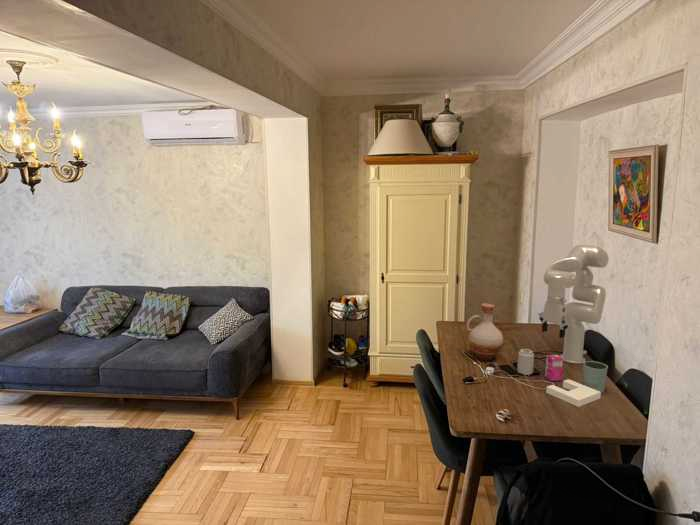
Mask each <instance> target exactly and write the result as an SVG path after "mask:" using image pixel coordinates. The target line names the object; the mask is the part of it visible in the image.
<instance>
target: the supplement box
mask: <svg viewBox="0 0 700 525" xmlns="http://www.w3.org/2000/svg"><path fill="white" fill-rule="evenodd" d="M545 359H546V360H545V374H544V375H545V376H544V377H545V378H546V379H547V380H549V381H550V382H551V383H552V382H563V370H564V369H563V368H564V361H563V359H562V358H561V357H560V355H558V354H551V355H549V354H547V355H546V358H545Z"/></svg>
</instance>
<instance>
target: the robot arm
mask: <svg viewBox="0 0 700 525" xmlns="http://www.w3.org/2000/svg"><path fill="white" fill-rule="evenodd" d="M608 264H609V255H608V253H607V252H606V251H605V250H604V249H603V248H602V247H600V246H597V245H585V244H576V245H575V246H573V248H572V249H571V250H570V251H569V253H568V255H567V256H566V258H563V259H560V260H558V261H555V262H552V263H551V264H550V265H549V266H548V268H547V269H546V270H545V272H544V275H543V281H544V283H545V284H546V285H547V295H546V296H547V299H546V301H545V302H544V303H545V304H544V308H543V311H542V312H538V317H539V320H540V323H541V333H546V332H548V329H549V328H548V325H549V324H548V323H551V324H553V325H557V326H559V328H560V329H559V333H558V334H559V335H558V337H559V338H560V339H561V338H564V340H563V349H562V350H563V351H562V353H561V354H560V355H559V356H560V357H561V358H562V359H563V362H565V363H569V364H577V365H578V364H579V365H580V364H583V363H584V362H586V357H584V355H586V354H587V353H588V351H587V350H585V349H584V345H585V344H584V343H585V333H586V330H585V326H584V324H583V323H588V324H593V325H597V324H599V323H600V322H601V319H602V317H603V315H602V314H603V309H604V307H605V306H604V305H605V302H606V294H607V293H606V289H605V288H604V287H603V286H602V285H595V284H593V280H594V274H593V272H592V270H591V269H590V268H589V267H592V268H599V269H602V268H603V269H604V268H605V267H607V265H608ZM569 288H572V292H571V296H572V299H573V300H576V301H579V302H575V301H574V302H573V301H572V302H568V303H567V300H566V299H565V296H566V289H569ZM582 302H583V303H582ZM584 302H585V303H584ZM566 303H567V304H566ZM587 303H590V304H587ZM591 303H592V304H591Z"/></svg>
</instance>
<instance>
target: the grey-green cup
mask: <svg viewBox="0 0 700 525" xmlns="http://www.w3.org/2000/svg"><path fill="white" fill-rule="evenodd" d="M582 364H583V365H582V366H583V385H585V386H587V387H590V388H592V389H595V390H597V391H600V392H601V394H603V393H604V392H605V387H606V379H607V374H608V369H609V366H608V365H607V364H605V363H603V362H601V361H595V360H587V361H586V360H585V362H584V363H582Z"/></svg>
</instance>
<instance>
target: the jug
mask: <svg viewBox="0 0 700 525" xmlns="http://www.w3.org/2000/svg"><path fill="white" fill-rule="evenodd" d="M494 308H495V305H494V304H492V303H489V302H488V303H487V302H484V303H481V309H480V311H481V314H482V315H480V314H475V315H473V316H471V317H470V318H469V319H467V322H466V329H467V331H468V332H469V336H468V340H469V346H470V348H471V351H472V352H473V354H474V355H475V356H476V357H477V358H478V359H479V360H481V361H491V360H493V359H494V358H495V357H497V355H499V353H500V351H501V349H502V347H503V344H504V336H503V334H502V331H501V330H499V328H498V327H496V326H495V324H494V323H493V321H492V317H493V314H494ZM476 318H479V319H480V320H481V322H480V323H479V324H478V325H476V326H475V327H474V328H470V323H471V322H472V321H473V320H474V319H476Z"/></svg>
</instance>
